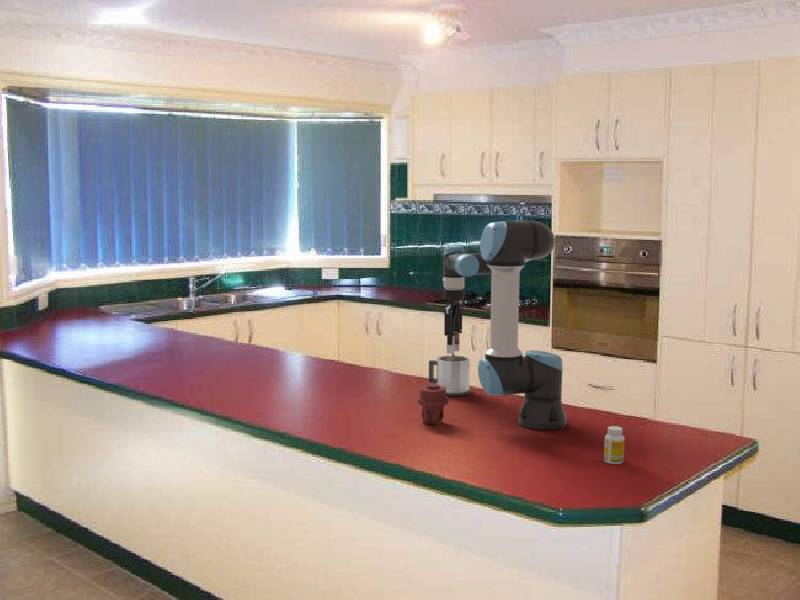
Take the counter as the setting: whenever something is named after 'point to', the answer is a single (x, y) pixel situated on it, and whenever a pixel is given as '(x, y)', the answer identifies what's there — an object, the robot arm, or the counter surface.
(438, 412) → the mechanical component
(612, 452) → the supplement bottle
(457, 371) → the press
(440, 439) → the counter surface
